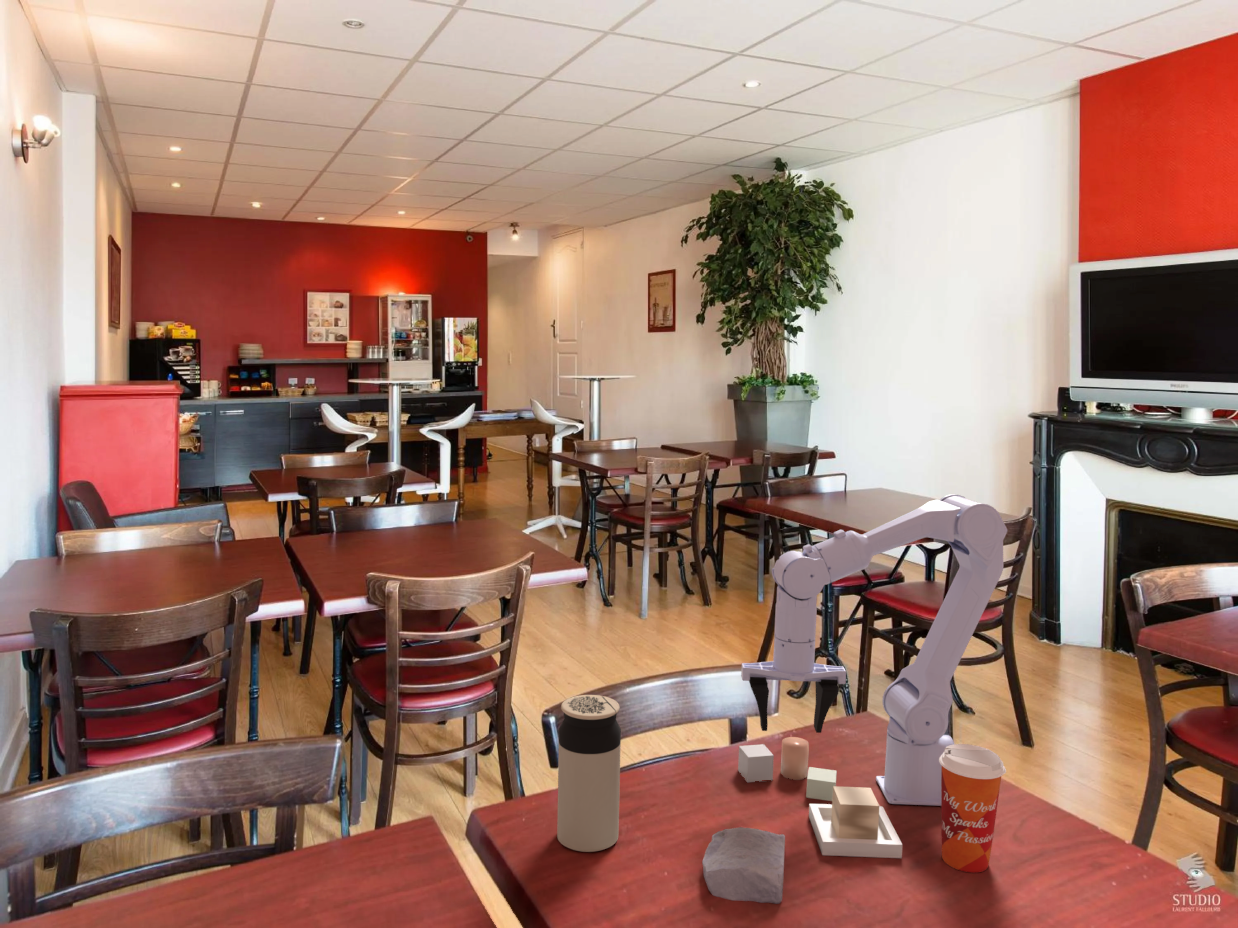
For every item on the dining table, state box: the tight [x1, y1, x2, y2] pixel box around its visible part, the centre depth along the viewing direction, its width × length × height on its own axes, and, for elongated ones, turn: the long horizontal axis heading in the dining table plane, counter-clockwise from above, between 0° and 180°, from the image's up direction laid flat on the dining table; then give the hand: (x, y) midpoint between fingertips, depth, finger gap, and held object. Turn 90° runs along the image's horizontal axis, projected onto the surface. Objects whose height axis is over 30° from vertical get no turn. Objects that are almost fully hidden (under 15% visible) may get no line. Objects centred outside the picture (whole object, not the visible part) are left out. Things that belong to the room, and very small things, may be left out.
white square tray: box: [808, 803, 903, 859], centre depth 121 cm, size 10×10×2 cm
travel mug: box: [556, 694, 622, 853], centre depth 118 cm, size 8×8×18 cm
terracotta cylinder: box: [780, 736, 810, 781], centre depth 138 cm, size 4×4×5 cm
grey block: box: [737, 743, 775, 783], centre depth 138 cm, size 4×4×4 cm
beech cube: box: [831, 785, 880, 840], centre depth 120 cm, size 5×5×5 cm
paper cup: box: [939, 743, 1007, 874], centre depth 115 cm, size 8×8×14 cm
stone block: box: [702, 826, 786, 905], centre depth 111 cm, size 12×5×10 cm
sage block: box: [805, 766, 838, 802], centre depth 133 cm, size 4×4×3 cm
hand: (790, 728), depth 131 cm, fingers open, 7 cm apart
